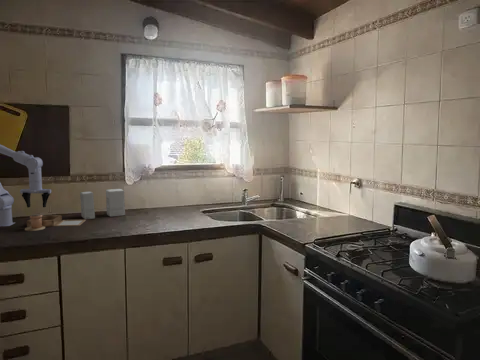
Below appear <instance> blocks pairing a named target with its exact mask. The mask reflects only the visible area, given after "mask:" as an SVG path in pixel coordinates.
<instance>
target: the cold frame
mask: <svg viewBox="0 0 480 360" xmlns="http://www.w3.org/2000/svg"><path fill="white" fill-rule="evenodd" d="M62 220H63V216H62V215H61V214H60V215H42V226H45V227H56V226H55V225H56V224H58V223H59V222H61V221H62ZM30 226H31V218H29V219H28V220H26V228H27V227H30Z"/></svg>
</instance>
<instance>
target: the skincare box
mask: <svg viewBox="0 0 480 360" xmlns="http://www.w3.org/2000/svg"><path fill="white" fill-rule="evenodd" d="M79 195H80V198H79V199H80V213H81V217H82V218H83V220H88V219H89V220H94V219H95V218H96V214H95V201H94V200H95V199H94V192H92V191H83V192H79Z"/></svg>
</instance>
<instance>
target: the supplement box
mask: <svg viewBox="0 0 480 360" xmlns="http://www.w3.org/2000/svg"><path fill="white" fill-rule="evenodd" d="M125 200H126V199H125V190H123V189H122V188H113V189H111V188H110V189H105V203H106V215H107V216H108V217H119V216H120V217H121V216H125V215H126V205H125V204H126V201H125Z"/></svg>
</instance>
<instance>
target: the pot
mask: <svg viewBox="0 0 480 360" xmlns="http://www.w3.org/2000/svg"><path fill="white" fill-rule="evenodd" d="M42 216H43V214H39V213H38V214H31V215H29V219H31V228H34V229H35V228H41V227H42Z"/></svg>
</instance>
